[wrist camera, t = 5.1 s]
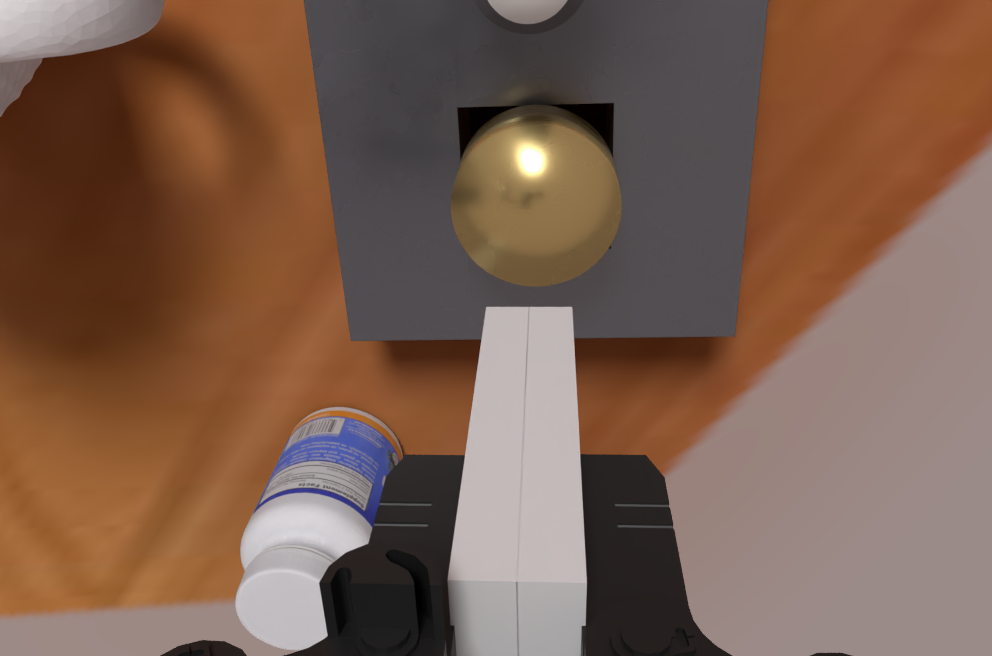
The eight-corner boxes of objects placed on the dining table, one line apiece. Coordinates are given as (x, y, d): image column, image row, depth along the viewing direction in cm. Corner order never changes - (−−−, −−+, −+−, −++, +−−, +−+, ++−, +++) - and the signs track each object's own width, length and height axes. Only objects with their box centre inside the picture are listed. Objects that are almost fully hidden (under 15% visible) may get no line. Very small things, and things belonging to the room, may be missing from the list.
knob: (471, 219, 33) (456, 288, 28) (463, 81, 31) (444, 127, 25) (607, 216, 33) (619, 285, 27) (610, 76, 30) (623, 122, 25)
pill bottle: (386, 512, 41) (344, 683, 33) (276, 478, 40) (203, 643, 32) (420, 424, 39) (383, 583, 30) (302, 386, 38) (231, 538, 29)
